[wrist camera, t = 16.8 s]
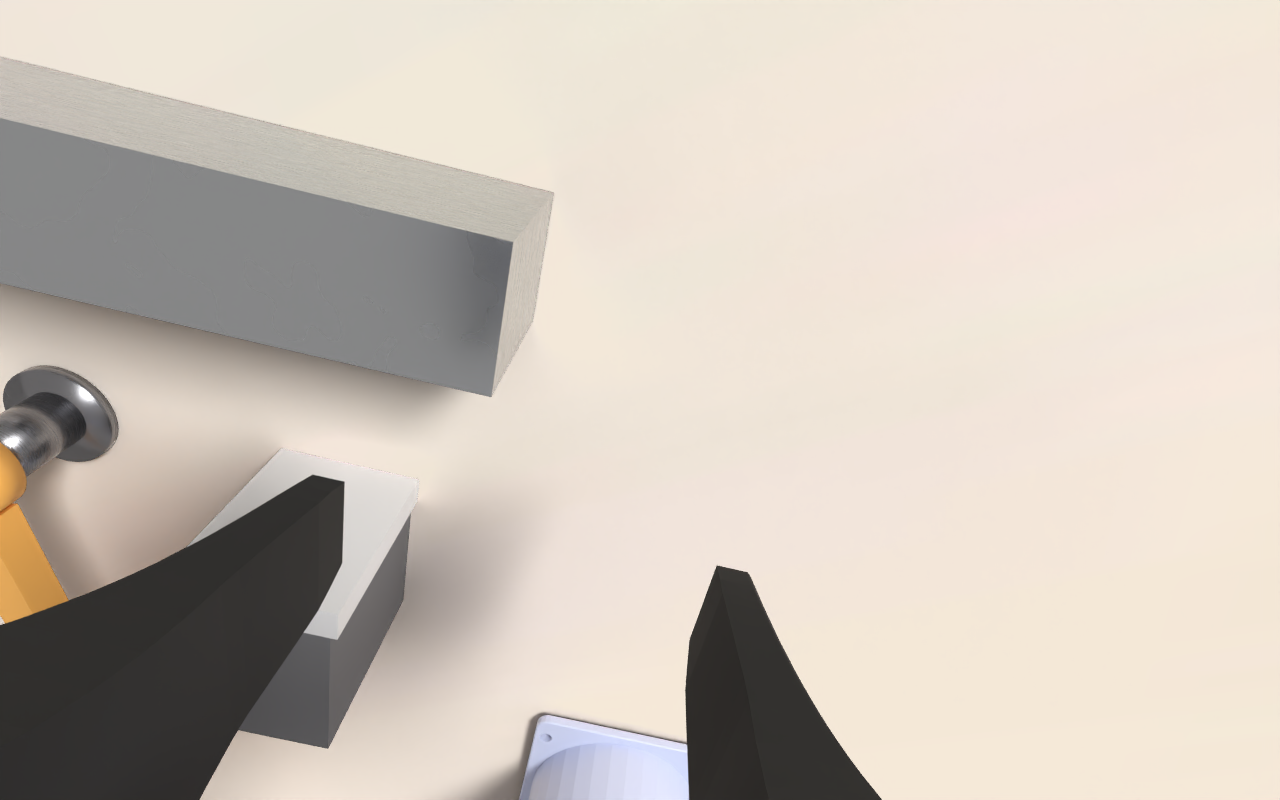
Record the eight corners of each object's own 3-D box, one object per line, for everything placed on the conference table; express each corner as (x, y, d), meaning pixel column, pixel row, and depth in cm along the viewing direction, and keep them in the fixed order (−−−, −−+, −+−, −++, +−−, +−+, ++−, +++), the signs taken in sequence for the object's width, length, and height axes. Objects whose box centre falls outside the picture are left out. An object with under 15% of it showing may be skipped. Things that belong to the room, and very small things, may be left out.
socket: (532, 325, 22) (490, 402, 18) (9, 201, 21) (-169, 249, 17) (553, 192, 20) (513, 241, 16) (-22, 51, 19) (-232, 61, 15)
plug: (404, 646, 29) (333, 798, 24) (285, 620, 29) (184, 768, 23) (419, 479, 25) (337, 614, 20) (281, 447, 25) (158, 575, 19)
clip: (127, 795, 30) (100, 831, 29) (-85, 425, 21) (-137, 452, 20) (191, 799, 30) (167, 836, 28) (2, 427, 21) (-44, 455, 20)
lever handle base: (124, 465, 26) (53, 520, 23) (23, 442, 26) (-60, 495, 23) (110, 379, 24) (33, 427, 21) (3, 354, 24) (-89, 399, 21)
